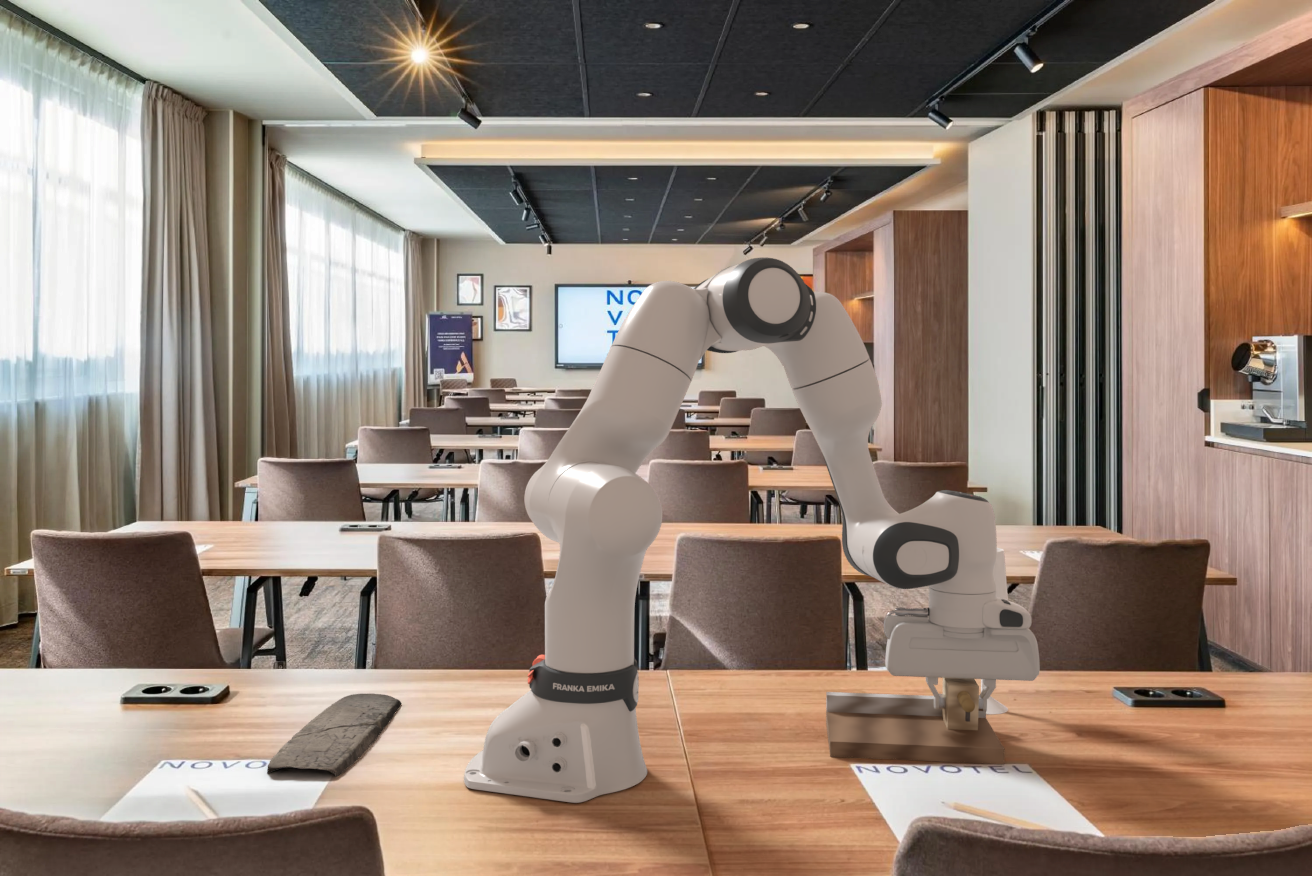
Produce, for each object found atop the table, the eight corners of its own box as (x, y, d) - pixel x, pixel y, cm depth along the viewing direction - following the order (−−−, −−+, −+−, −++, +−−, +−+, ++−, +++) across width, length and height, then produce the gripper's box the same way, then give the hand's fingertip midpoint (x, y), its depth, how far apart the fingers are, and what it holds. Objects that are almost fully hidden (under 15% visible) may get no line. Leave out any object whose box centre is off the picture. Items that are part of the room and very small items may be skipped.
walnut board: (830, 756, 135) (830, 723, 135) (826, 722, 149) (826, 691, 149) (1004, 764, 133) (1004, 730, 132) (983, 728, 147) (984, 697, 146)
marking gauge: (952, 739, 136) (953, 694, 136) (941, 717, 145) (942, 674, 145) (983, 740, 136) (984, 695, 135) (971, 718, 145) (972, 676, 144)
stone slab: (408, 691, 158) (339, 755, 128) (408, 712, 158) (340, 781, 128) (341, 692, 158) (257, 755, 128) (342, 713, 158) (258, 781, 128)
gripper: (886, 612, 140) (885, 713, 140) (1043, 616, 137) (1041, 719, 138) (882, 602, 146) (880, 699, 147) (1032, 606, 143) (1030, 704, 144)
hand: (960, 709), depth 142 cm, fingers closed on marking gauge, 4 cm apart
